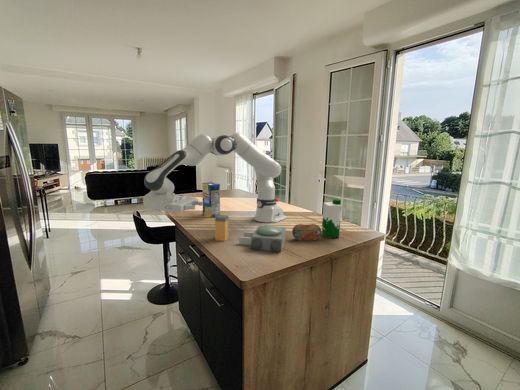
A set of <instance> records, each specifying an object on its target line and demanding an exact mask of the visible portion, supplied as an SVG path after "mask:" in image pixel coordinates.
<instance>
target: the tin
mask: <svg viewBox="0 0 520 390" xmlns="http://www.w3.org/2000/svg"><path fill="white" fill-rule="evenodd" d="M291 232H292V233H291V234H292V236H293V238H294V239H295V240H297V241H300V242H302V240H307V241H317V240H319V239H320V238H321V236H322V227H320V226H319V225H318V224H316V223H315V224H314V223H298V224H296V225H294V226H293V228H292V231H291Z"/></svg>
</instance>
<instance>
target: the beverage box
mask: <svg viewBox="0 0 520 390" xmlns="http://www.w3.org/2000/svg"><path fill="white" fill-rule="evenodd" d="M201 184H202V187H201V188H202V202H203V205H202V215H203V216H205V217H208V218H210V219H214V218H215V217H216V216H218V215H221V184H219V183H216V182H211V181H210V182H202V183H201Z"/></svg>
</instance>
